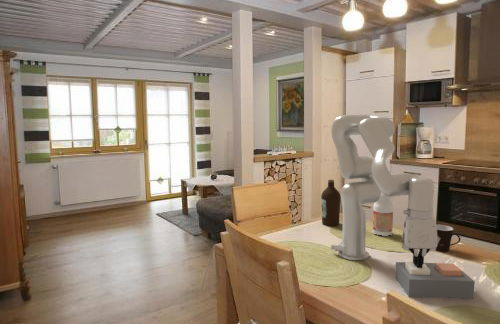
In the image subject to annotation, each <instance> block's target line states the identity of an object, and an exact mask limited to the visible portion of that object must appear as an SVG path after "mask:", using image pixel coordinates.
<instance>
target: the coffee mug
mask: <svg viewBox="0 0 500 324" xmlns="http://www.w3.org/2000/svg"><path fill="white" fill-rule="evenodd" d="M436 227H437V247H436V250H435V251H436V252H440V253H448V252H449V251H450V248H451V247H452V246H454V245H456V244H459V243H460V242H461V236H460V235H459V234H457V233H453V232H454V227H452V226H449V225H444V224H436ZM453 236H456V237H457V238H458V241H456V242H454V243H452V238H453Z"/></svg>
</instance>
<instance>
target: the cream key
mask: <svg viewBox="0 0 500 324" xmlns="http://www.w3.org/2000/svg"><path fill="white" fill-rule="evenodd" d="M405 268H406V270H407V271H408V272H409V273H410V275H430V269H429V268H428V267H427V266H426V265H425V264H423V265H422V268H420V267H419V268H417V267H416V266H415V265H414V264H413V261H412V262H410V261H407V262H406V261H405Z"/></svg>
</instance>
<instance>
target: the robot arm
mask: <svg viewBox="0 0 500 324" xmlns="http://www.w3.org/2000/svg"><path fill="white" fill-rule="evenodd" d="M395 131H396V127H395V123H394V122H393V120H392V119H390V118H389V117H385V116H379V115H372V114H371V115H370V114H343V115H340V116H338V117H336V118H335V119H334V120H333V122H332V124H331V129H330V132H331V138H332V140H333V144H334V146H335V150H336V155H337V162H338V167H339V171H340V175H341V177H342V178H343V179H345V180H358V179H360V180H361V181H353V182H348V183H346V184H344V185H343V186H342V188H341V189H340V196H341V205H342V231H341V232H342V236H341V237H342V239H341V241H342V242H340V243H338V244H331V245H330V249H331V250H334V251H335V252H338V256H340V257H341V258H343V259H345V260H350V261H365V260H367V259H369V257H370V253H369V252H368V251H367V250H366V237H367V236H366V234H367V214H366V212H365V209H364V208H363V205H365V204H367V205H368V204H374V203H375V202H377V201H378V200H379V199H380V197H381V192H382V193H383V194H384V195H386V196H389V197H393V198H394V197H399V196H408V197H407V207H406V210H405V209H404V210H403V215H407V216H405V219H404V222H403V227H402V235H401V237H402V238H401V241H402V245H401V248H402V249H403V250H404V251H405V250H406V251H410V252H411V254H412V262H413V264H414V265H415V266H416V267H417V268H419V267H420V268H422V265H423V264H424V263H425V262H424V261H425V257H426V255H427V254H428V253H429V252H432V251H436V247H437V227H436V225H437V222H436V218H434V216H433V215H434V214H433V213H434V191H435V190H434V189H435V182H434V179H432V178H430V177H425V176H418V175H415V174H412V173H397V174H391V172H390V170H389V168H388V167H387V164H386V159H387V158H389V157H390V156H391V155H393V153H394V152H395V150H396V147H395V145H394V143H393V142H392V140H391V137H393V135H394V134H395ZM358 135H359V136H360V137H361V138H362V140H363V142H364V144H365V146H366V147H367V149H368V151H369V153H370V154H371V156H372V158H371V157H369V156H368V155H367V156H365V155H364V156H363V155H362V156H360V155H359V153H358V147H357V144H356V142H355V141H354V140H353V138H352V137H350V136H358Z"/></svg>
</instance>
